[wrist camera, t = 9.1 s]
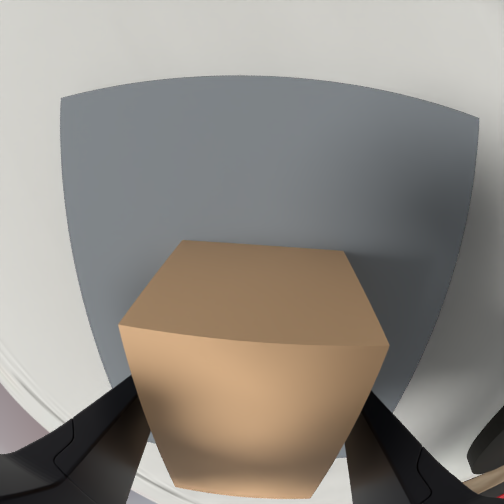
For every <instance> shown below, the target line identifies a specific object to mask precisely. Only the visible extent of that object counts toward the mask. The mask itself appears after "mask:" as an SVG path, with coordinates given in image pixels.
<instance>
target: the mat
mask: <svg viewBox="0 0 504 504" xmlns="http://www.w3.org/2000/svg"><path fill="white" fill-rule="evenodd" d="M478 132H479V118H477V117H475V116H472V115H469V114H466V113H464V112H461V111H458V110H455V109H452V108H449V107H445V106H442V105H439V104H436V103H432V102H429V101H425V100H422V99H418V98H414V97H410V96H406V95H402V94H398V93H393V92H389V91H384V90H379V89H374V88H369V87H363V86H358V85H351V84H345V83H338V82H331V81H323V80H314V79H303V78H291V77H275V76H201V77H185V78H173V79H162V80H154V81H145V82H138V83H131V84H125V85H119V86H113V87H108V88H103V89H98V90H93V91H88V92H84V93H79V94H75V95H71V96H67V97H63V98H61V108H60V141H61V164H62V179H63V190H64V199H65V208H66V216H67V223H68V229H69V236H70V242H71V247H72V253H73V258H74V263H75V268H76V272H77V277H78V281H79V285H80V290H81V294H82V298H83V302H84V305H85V309H86V313H87V316H88V320H89V323H90V327H91V330H92V333H93V336H94V339H95V343H96V346H97V349H98V352H99V355H100V357H101V360H102V363H103V366H104V369H105V371H106V374H107V377H108V379H109V382H110V384H111V387H112V389H113V388H114V387H115V386H117V385H118V384H119V383H121V382H122V381H123V380H125V379H126V378H127V377H129V376H130V375H131V371H130V368H129V364H128V361H127V357H126V354H125V350H124V346H123V342H122V338H121V334H120V330H119V326H118V324H119V322H120V321H121V320H122V318H123V317H124V316H125V314H126V313H127V311H128V310H129V309H130V307H131V306H132V305H133V303H134V302H135V301H136V299H137V298H138V297H139V295H140V294H141V293H142V291H143V290H144V289H145V287H146V286H147V285H148V283H149V282H150V281H151V279H152V278H153V277H154V275H155V274H156V273H157V271H158V270H159V269H160V268H161V266H162V265H163V264H164V262H165V261H166V260H167V259H168V257H169V256H170V255H171V254H172V252H173V251H174V250H175V249H176V247H177V246H178V245H179V244H180V242H181V241H182V240H191V241H207V242H222V243H237V244H252V245H267V246H281V247H296V248H310V249H324V250H338V251H344V253H345V255H346V257H347V259H348V261H349V262H350V264H351V266H352V268H353V270H354V272H355V274H356V276H357V278H358V280H359V282H360V284H361V286H362V288H363V290H364V292H365V294H366V296H367V298H368V300H369V302H370V304H371V306H372V308H373V310H374V312H375V314H376V317H377V319H378V321H379V323H380V325H381V327H382V329H383V332H384V334H385V336H386V338H387V340H388V343H389V345H390V346H389V349H388V351H387V354H386V356H385V359H384V361H383V364H382V366H381V368H380V371H379V373H378V376H377V378H376V380H375V382H374V385H373V387H372V389H371V390H372V391H373V393H374V394H375V395H376V396H377V397H378V398H379V399H380V400H381V401H382V402H383V403H384V405H385V406H386V407H387V408H388V409H389V410H390V411H391V412H392V413H393V411H394V409H395V408H396V406H397V404H398V402H399V401H400V399H401V397H402V395H403V393H404V391H405V389H406V387H407V386H408V384H409V382H410V380H411V378H412V376H413V374H414V372H415V369H416V367H417V365H418V363H419V361H420V359H421V357H422V354H423V352H424V350H425V348H426V345H427V343H428V341H429V338H430V336H431V334H432V331H433V329H434V326H435V324H436V321H437V318H438V316H439V313H440V310H441V308H442V305H443V302H444V299H445V296H446V293H447V290H448V287H449V284H450V281H451V278H452V275H453V271H454V268H455V265H456V261H457V257H458V254H459V250H460V246H461V242H462V238H463V234H464V229H465V225H466V220H467V215H468V210H469V205H470V199H471V194H472V187H473V181H474V173H475V165H476V156H477V146H478ZM147 442H151V443H156V442H155V440H154V437H153V435H152V432H150V435H149V438H148V441H147ZM345 457H346V451H345V444H344V445H343V447H342V448H341V450H340V452H339V454H338V455H337V457H336V458H345Z"/></svg>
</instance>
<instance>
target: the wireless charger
mask: <svg viewBox="0 0 504 504" xmlns="http://www.w3.org/2000/svg"><path fill="white" fill-rule="evenodd" d="M467 459H468V462H469V465H470V467H471V470H472V472H473V473H474V474H483V473H487V472H490V471H492V470H495V469H497V468H499V467H501V466H503V465H504V406H503V407H502V408H501V409H500V410H499V411H498V413H497V414H496V415H495V416H494V417H493V418H492V419H491V420H490V422H489V423H488V424H487V425H486V426H485V427H484V429H483V430H482V431H481V432H480V434H479V435H478V436H477V438H476V439H475V440H474V442H473V443H472V445H471V447H470V448H469V451H468V453H467Z"/></svg>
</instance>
